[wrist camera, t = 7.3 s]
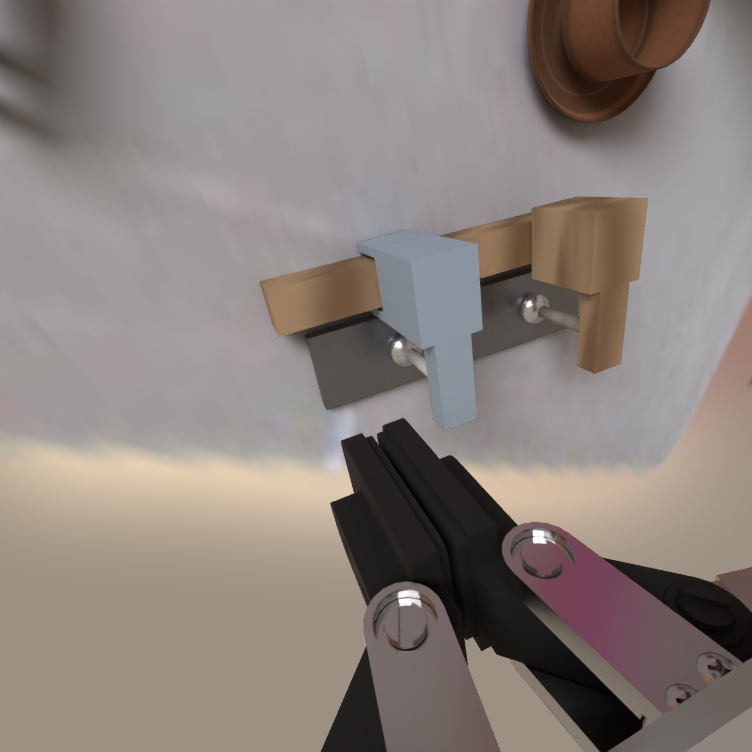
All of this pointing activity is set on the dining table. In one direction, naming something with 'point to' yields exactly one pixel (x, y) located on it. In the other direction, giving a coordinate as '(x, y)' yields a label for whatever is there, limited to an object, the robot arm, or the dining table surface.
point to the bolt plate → (388, 347)
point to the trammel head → (433, 312)
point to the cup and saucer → (606, 49)
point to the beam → (502, 253)
